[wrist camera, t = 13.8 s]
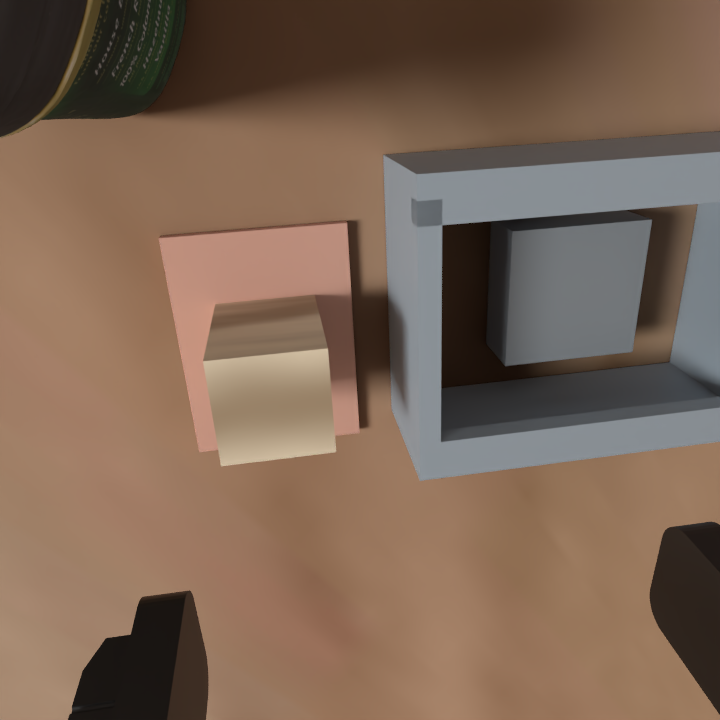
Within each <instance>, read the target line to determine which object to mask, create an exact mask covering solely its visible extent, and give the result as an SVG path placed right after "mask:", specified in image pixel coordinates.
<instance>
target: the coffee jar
mask: <svg viewBox="0 0 720 720" xmlns="http://www.w3.org/2000/svg"><path fill="white" fill-rule="evenodd" d="M185 16H186V0H0V138H2V137H6V136H9V135H12V134H15V133H18V132H20V131H22V130H24V129H26V128H28V127H30V126H32V125H33V124H35V123H37V122H38V121H40V120H50V119H111V118H121V117H127V116H132V115H135V114H137V113H139V112H142V111H144V110H145V109H147V108H148V107H149V106H150V105H151V104H152V103H153V102H154V101H155V100H156V99H157V98H158V97H159V95H160V94H161V93H162V91H163V89H164V87H165V85H166V83H167V81H168V79H169V77H170V74H171V71H172V68H173V65H174V62H175V59H176V56H177V53H178V50H179V46H180V43H181V39H182V35H183V29H184V24H185Z"/></svg>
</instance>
